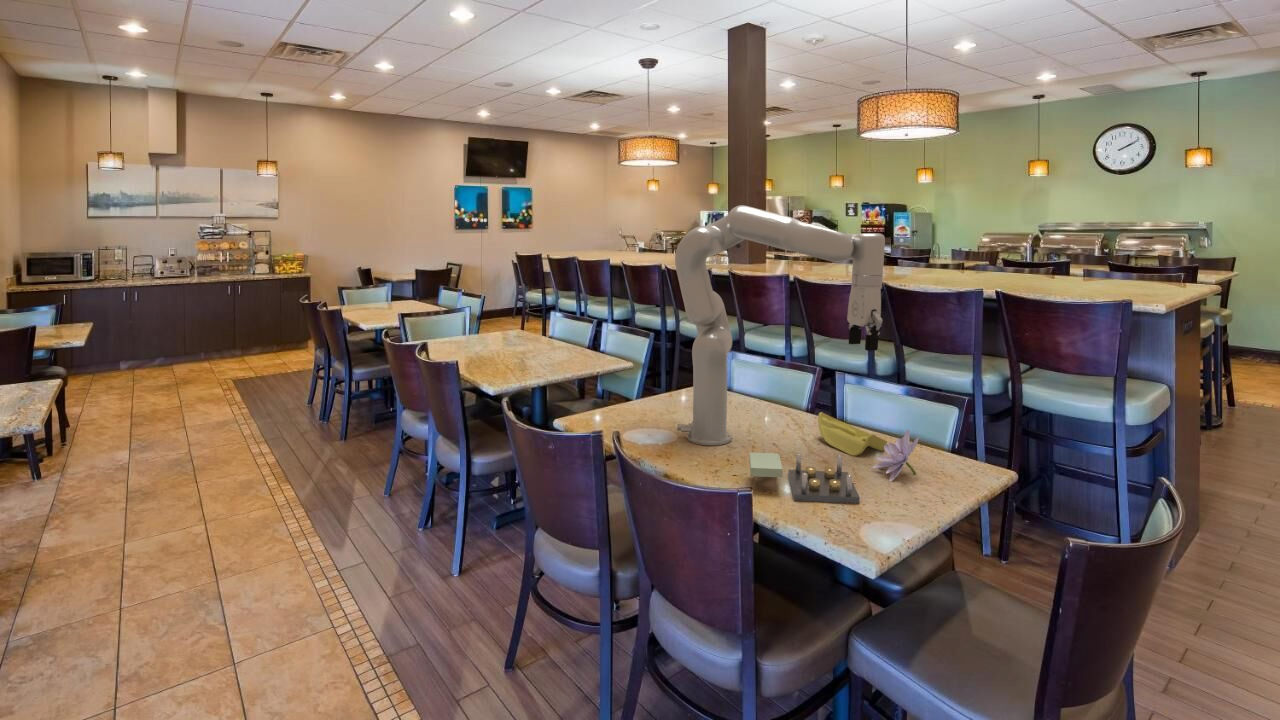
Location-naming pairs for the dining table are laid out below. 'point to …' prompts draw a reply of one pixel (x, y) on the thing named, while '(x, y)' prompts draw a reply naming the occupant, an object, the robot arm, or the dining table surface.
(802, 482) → the chassis
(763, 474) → the board
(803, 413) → the dining table surface
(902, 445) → the water lily
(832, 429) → the plastic component
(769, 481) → the block
